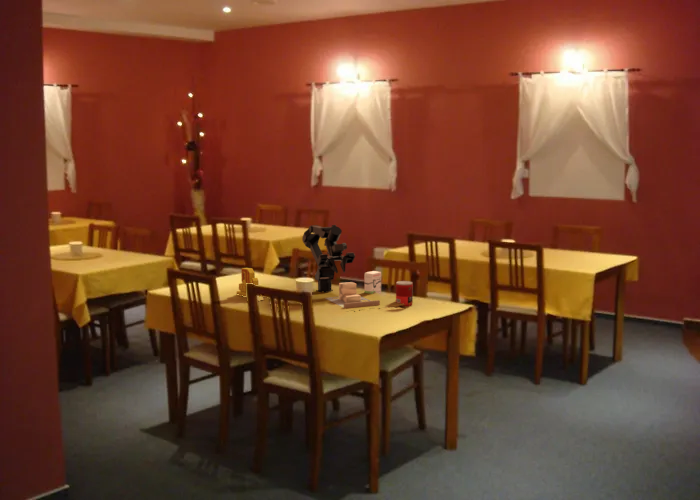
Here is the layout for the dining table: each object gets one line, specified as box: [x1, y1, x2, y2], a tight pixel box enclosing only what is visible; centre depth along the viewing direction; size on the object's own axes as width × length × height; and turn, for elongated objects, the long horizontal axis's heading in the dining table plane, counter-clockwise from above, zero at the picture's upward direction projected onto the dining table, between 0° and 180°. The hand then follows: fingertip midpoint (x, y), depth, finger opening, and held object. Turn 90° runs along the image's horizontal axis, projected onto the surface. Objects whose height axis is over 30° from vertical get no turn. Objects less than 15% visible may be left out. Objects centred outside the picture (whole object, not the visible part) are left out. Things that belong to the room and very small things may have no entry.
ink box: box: [363, 270, 382, 295], centre depth 385 cm, size 9×5×12 cm, turn 143°
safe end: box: [338, 299, 381, 312], centre depth 355 cm, size 7×18×4 cm, turn 114°
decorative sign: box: [236, 267, 260, 297], centre depth 379 cm, size 20×3×15 cm, turn 41°
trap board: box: [324, 296, 371, 306], centre depth 367 cm, size 18×18×2 cm
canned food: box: [395, 280, 414, 307], centre depth 361 cm, size 8×8×11 cm
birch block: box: [338, 281, 362, 303], centre depth 365 cm, size 10×7×8 cm
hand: (340, 272), depth 373 cm, fingers open, 4 cm apart
